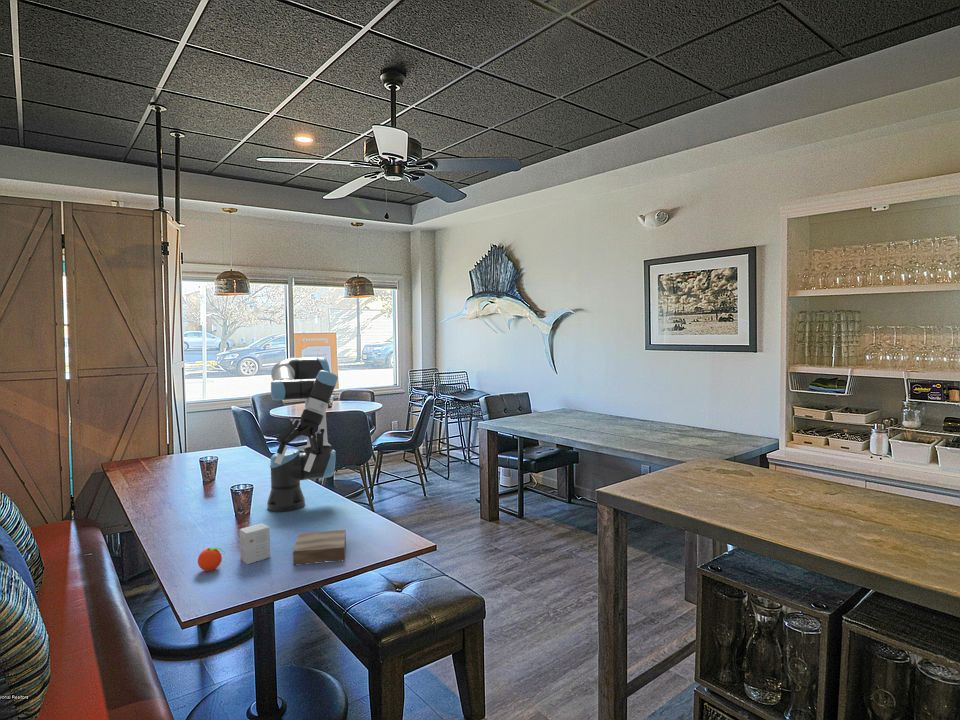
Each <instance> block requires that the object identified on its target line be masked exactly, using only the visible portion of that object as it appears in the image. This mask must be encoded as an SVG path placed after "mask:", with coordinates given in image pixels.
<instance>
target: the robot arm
mask: <svg viewBox="0 0 960 720" xmlns="http://www.w3.org/2000/svg"><path fill="white" fill-rule="evenodd" d="M270 373H271V379H272V381H271V382H270V395H271V396H270V397H271V400H273V401H287V400H289V401H290V400H304V409H303V411H302V412H301V415H300V420H299V419H296V418H292V420H291V422H290V423H289V425H288V426H287V427H286V428H285V429H284V430H283V431H282V432H281V433H280V435H278V437H277V438H276V439H275V440H276V442H278V445H279V446H278V448H277V451H276V453H274V454H272V456H271V457H270V464H269V468H270V487H271V489H270V492H269V496H268V498H267V509H268V510H269V511H272V512H288V511H294V510H298V509H300V508H302V507H304V506H305V504H306V502H305V501H306V500H305V496H304V493H303V490H302V488H301V481H306V480H316V479H325V478H331V477H333V475H334V473H335V468H336V459H337V457H336V454H337V453H336V450H335V449H332V444H330V443H329V442H328V441H329V440H328V428H327V425H328V424H327V412H326V411H327V409H328V405H329V403H330V400H331V398H332V395H333V392H334V390H335V388H336V386H337V382H338V378H339V377H338V375H337V374H335V373H333V372H331V370H330V365H329V361H328V360H327V358H325V357H322V356H321V357H319V356H310V357H290V358H285V359H283V360H281V361H279V362H277V363H276V364H275V365H274V366H273V367H272V370H271V372H270ZM299 436H305V437H306V441H307V442H306V445H305V446H304V448H303V452H300V450H299V449H296V448H294V449H288V446H287V445H288V444H289V443H291V442H292V441H294V440H295V439H297V438H298V437H299Z"/></svg>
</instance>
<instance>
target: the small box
mask: <svg viewBox="0 0 960 720" xmlns="http://www.w3.org/2000/svg"><path fill="white" fill-rule="evenodd" d="M238 531H239V552H240V560H241V561H242V562H244V563H245V564H247V565H250V564H253V563H256V561H257V562H259V561H263V560H266V559H269V558H271V537H270V532H271V531H270V527H269V526H268V525H266V524H264V523H262V522H261V523H257V524H254V525H250V526H245V527H242V528H240V529H239V530H238Z"/></svg>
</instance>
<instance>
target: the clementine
mask: <svg viewBox="0 0 960 720" xmlns="http://www.w3.org/2000/svg"><path fill="white" fill-rule="evenodd" d="M220 551H223V552H224V554H226V552H225V551H224V550H223V549H222V548H219V547H209V548H204V550H202V551H201V552H200V554H199V555H198V558H197V565H198V567H199V569H201V570H203V571H204V572H211V571H215V570H216V569H217V568H219V566H220V565H221V564H222V558H223V557H222V554H221V552H220Z"/></svg>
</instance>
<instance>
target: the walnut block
mask: <svg viewBox="0 0 960 720" xmlns="http://www.w3.org/2000/svg"><path fill="white" fill-rule="evenodd" d="M346 533H347V531H346V529H336V530H335V529H334V530H323V531H309V532H308V531H307V532H298V533H297V537H296V541H295V544H294V547H293V551H292V553H293V554H292V555H293V558H292V559H293V562H292V563H293V566H297V565H296V564H302V565H307V564H306V563H313V564H316V563H315V562H324V563H326V562H325V561H336V562H345V557H346V545H347V544H346V543H347V539H346ZM342 560H343V561H342Z"/></svg>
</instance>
